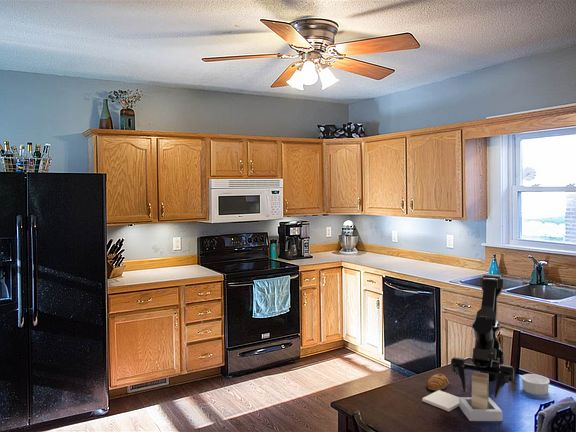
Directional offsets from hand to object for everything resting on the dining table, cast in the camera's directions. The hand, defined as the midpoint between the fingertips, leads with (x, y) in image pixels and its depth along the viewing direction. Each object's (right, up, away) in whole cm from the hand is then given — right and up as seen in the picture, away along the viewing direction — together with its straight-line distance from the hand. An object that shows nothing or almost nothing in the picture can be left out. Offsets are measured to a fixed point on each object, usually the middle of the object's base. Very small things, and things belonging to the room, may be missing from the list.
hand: (479, 394), depth 146 cm
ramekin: (+27, -6, +18) cm, 33 cm away
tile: (-8, -6, +10) cm, 14 cm away
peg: (+1, -7, +1) cm, 7 cm away
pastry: (-6, -6, +23) cm, 24 cm away
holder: (+1, -7, +1) cm, 7 cm away
